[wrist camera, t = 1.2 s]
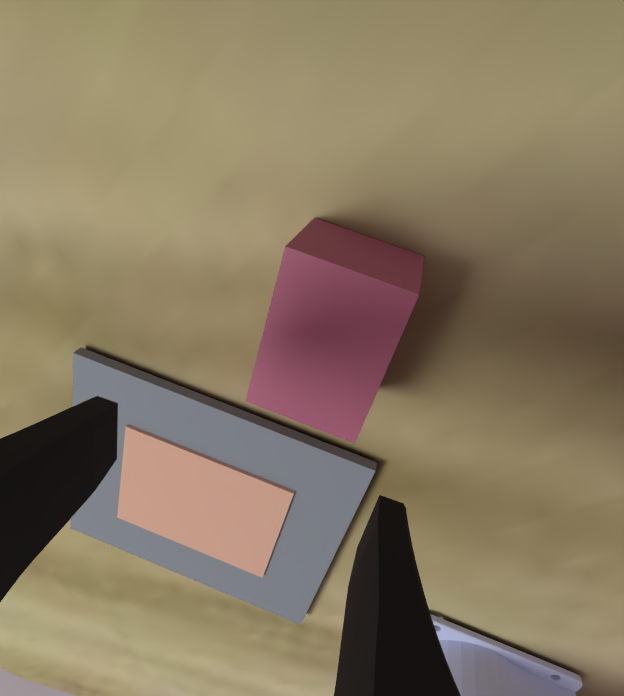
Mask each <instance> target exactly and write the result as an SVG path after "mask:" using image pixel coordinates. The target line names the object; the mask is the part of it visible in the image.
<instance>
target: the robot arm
mask: <svg viewBox="0 0 624 696" xmlns="http://www.w3.org/2000/svg"><path fill="white" fill-rule="evenodd" d="M117 430H118V403H116V402H113V401H111V400H108V399H105V398H102V397H99V396H96V397H93V398H91V399H89V400H86V401H84V402H82V403H80V404H78V405H75V406H73V407H71V408H69V409H67V410H64V411H62V412H60V413H58V414H56V415H54V416H51V417H49V418H47V419H45V420H43V421H40V422H38V423H36V424H34V425H31V426H29V427H27V428H24V429H22V430H20V431H18V432H15V433H13V434H11V435H8V436H6V437H3V438H1V439H0V602H1V600H2V599H3V598H4V596H5V595H6V594H7V592H8V591H9V590H10V588H11V587H12V586H13V584H14V583H15V582H16V580H17V579H18V578H19V576H20V575H21V574H22V573H23V572H24V570H25V569H26V568H27V567H28V566H29V564H30V563H31V562H32V561H33V560H34V559H35V557H36V556H37V555H38V554H39V553H40V552H41V551H42V550H43V549H44V547H45V546H46V545H47V544H48V543H49V542H50V541H51V540H52V539H53V537H54V536H55V535H56V534H57V533H58V532H59V531H60V530H61V529H62V527H63V526H64V525H65V524H66V523H67V522H68V521H69V520H70V519H71V517H72V516H73V515H74V514H75V513H76V512H77V511H78V510H79V508H80V507H81V506H82V505H83V504H84V503H85V502H86V501H87V499H88V498H89V497H90V496H91V495H92V494H93V492H94V491H95V490H96V489H97V487H98V486H99V484H100V483H101V482H102V480H103V479H104V477H105V476H106V474H107V473H108V471H109V470H110V468H111V467H112V466H113V464H114V463H115V461H116V460H117ZM582 686H583V684H582V680H581V677H580V676H579V675H577V674H575V673H573V672H571V671H568V670H566V669H563V668H561V667H558V666H556V665H554V664H551V663H549V662H546V661H544V660H541V659H539V658H536V657H534V656H532V655H529V654H527V653H524V652H522V651H519V650H517V649H515V648H512V647H510V646H507V645H505V644H502V643H500V642H497V641H495V640H493V639H490V638H488V637H485V636H483V635H480V634H478V633H476V632H473V631H471V630H468V629H466V628H463V627H461V626H458V625H456V624H454V623H451V622H449V621H446V620H444V619H441V618H439V617H437V616H434V615H432V614H430V612H429V608H428V605H427V602H426V598H425V595H424V591H423V588H422V584H421V580H420V576H419V573H418V569H417V565H416V561H415V556H414V552H413V547H412V542H411V537H410V532H409V526H408V520H407V513H406V507H405V506H404V504H403V503H400V502H398V501H395V500H392V499H389V498H386V497H383V496H381V495H380V496H379V498H378V500H377V503H376V505H375V507H374V510H373V512H372V514H371V517H370V519H369V521H368V524H367V526H366V528H365V531H364V533H363V535H362V538H361V540H360V542H359V545H358V547H357V551H356V556H355V560H354V564H353V568H352V573H351V577H350V581H349V586H348V593H347V601H346V608H345V616H344V624H343V632H342V640H341V648H340V656H339V664H338V672H337V680H336V686H335V692H334V696H576V693H575V692H577V691H578V690H579V689H580V688H581V687H582Z"/></svg>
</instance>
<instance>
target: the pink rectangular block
mask: <svg viewBox="0 0 624 696" xmlns="http://www.w3.org/2000/svg"><path fill="white" fill-rule="evenodd" d="M423 263H424V256H422V255H419V254H416V253H413V252H410V251H408V250H405V249H402V248H399V247H396V246H393V245H391V244H388V243H385V242H382V241H379V240H376V239H374V238H371V237H368V236H365V235H362V234H359V233H357V232H354V231H351V230H348V229H345V228H342V227H339V226H337V225H334V224H331V223H328V222H325V221H322V220H320V219H317V218H314V219H313V220H312V221H311V222H310V223H309V224H308V225H307V226H306V227H305V228H304V229H303V230H302V231H301V232H300V233H299V234H298V235H297V236H296V237H295V238H293V239H292V240H291V241H290V242H289V243H288V244H287V245H286V246H285V250H284V254H283V258H282V262H281V266H280V270H279V273H278V277H277V281H276V285H275V289H274V293H273V297H272V301H271V305H270V308H269V312H268V316H267V320H266V324H265V328H264V332H263V336H262V340H261V344H260V347H259V351H258V355H257V359H256V363H255V367H254V371H253V375H252V379H251V383H250V386H249V390H248V394H247V398H246V401H247V402H249V403H252V404H254V405H257V406H260V407H262V408H265V409H267V410H270V411H272V412H275V413H278V414H280V415H283V416H285V417H288V418H291V419H293V420H296V421H298V422H301V423H303V424H306V425H309V426H311V427H314V428H316V429H319V430H322V431H324V432H327V433H329V434H332V435H335V436H337V437H340V438H342V439H345V440H347V441H350V442H353V443H355V442H356V439H357V437H358V435H359V432H360V430H361V428H362V425H363V423H364V421H365V419H366V416H367V414H368V412H369V409H370V407H371V405H372V403H373V400H374V398H375V396H376V393H377V391H378V389H379V386H380V384H381V382H382V380H383V377H384V375H385V373H386V370H387V368H388V366H389V363H390V361H391V359H392V357H393V354H394V352H395V350H396V347H397V345H398V343H399V340H400V338H401V336H402V334H403V331H404V329H405V327H406V324H407V322H408V320H409V318H410V315H411V313H412V311H413V308H414V306H415V304H416V301H417V299H418V297H419V295H420V287H421V279H422V271H423Z"/></svg>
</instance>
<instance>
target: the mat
mask: <svg viewBox="0 0 624 696" xmlns="http://www.w3.org/2000/svg"><path fill="white" fill-rule="evenodd" d="M96 396H99V397H102V398H105V399H108V400H111V401H113V402H116V403H118V430H117V460H116V461H115V463H114V464H113V466H112V467H111V468H110V470H109V471H108V473H107V474H106V476H105V477H104V479H103V480H102V482H101V483H100V484H99V486H98V487H97V489H96V490H95V491H94V492H93V494H92V495H91V496H90V497H89V498H88V499H87V501H86V502H85V503H84V504H83V505H82V506H81V507H80V508H79V510H78V511H77V512H76V513H75V514H74V515H73V516H72V517H71V529H74V530H76V531H79V532H81V533H83V534H86V535H88V536H91V537H93V538H95V539H98V540H100V541H102V542H105V543H107V544H110V545H112V546H114V547H117V548H119V549H121V550H124V551H126V552H129V553H131V554H133V555H136V556H138V557H140V558H143V559H145V560H148V561H150V562H152V563H155V564H157V565H159V566H162V567H164V568H167V569H169V570H171V571H174V572H176V573H178V574H181V575H183V576H186V577H188V578H190V579H193V580H195V581H197V582H200V583H202V584H205V585H207V586H209V587H212V588H214V589H216V590H219V591H221V592H224V593H226V594H228V595H231V596H233V597H235V598H238V599H240V600H243V601H245V602H247V603H250V604H252V605H254V606H257V607H259V608H262V609H264V610H266V611H269V612H271V613H274V614H276V615H278V616H281V617H283V618H285V619H288V620H290V621H293V622H295V623H297V624H300V625H301V623H302V621H303V619H304V617H305V615H306V613H307V611H308V609H309V607H310V605H311V602H312V600H313V598H314V596H315V594H316V592H317V590H318V588H319V586H320V584H321V582H322V580H323V578H324V576H325V574H326V572H327V570H328V568H329V566H330V563H331V561H332V559H333V557H334V555H335V553H336V551H337V549H338V547H339V545H340V543H341V541H342V539H343V537H344V535H345V533H346V531H347V529H348V527H349V524H350V522H351V520H352V518H353V516H354V514H355V512H356V510H357V508H358V506H359V504H360V502H361V500H362V498H363V496H364V494H365V492H366V490H367V488H368V485H369V483H370V481H371V479H372V477H373V475H374V473H375V471H376V466H377V462H374V461H372V460H369V459H366V458H364V457H361V456H359V455H356V454H354V453H351V452H348V451H346V450H343V449H341V448H338V447H336V446H333V445H330V444H328V443H325V442H323V441H320V440H318V439H315V438H312V437H310V436H307V435H305V434H302V433H300V432H297V431H294V430H292V429H289V428H287V427H284V426H282V425H279V424H277V423H274V422H271V421H269V420H266V419H264V418H261V417H259V416H256V415H253V414H251V413H248V412H246V411H243V410H241V409H238V408H235V407H233V406H230V405H228V404H225V403H223V402H220V401H217V400H215V399H212V398H210V397H207V396H205V395H202V394H200V393H197V392H194V391H192V390H189V389H187V388H184V387H182V386H179V385H176V384H174V383H171V382H169V381H166V380H164V379H161V378H158V377H156V376H153V375H151V374H148V373H146V372H143V371H140V370H138V369H135V368H133V367H130V366H128V365H125V364H123V363H120V362H117V361H115V360H112V359H110V358H107V357H105V356H102V355H99V354H97V353H94V352H92V351H89V350H87V349H84V348H80V349H78V350H77V351H75V352H74V353H73V406H75V405H78V404H80V403H82V402H84V401H86V400H89V399H91V398H93V397H96Z"/></svg>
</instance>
